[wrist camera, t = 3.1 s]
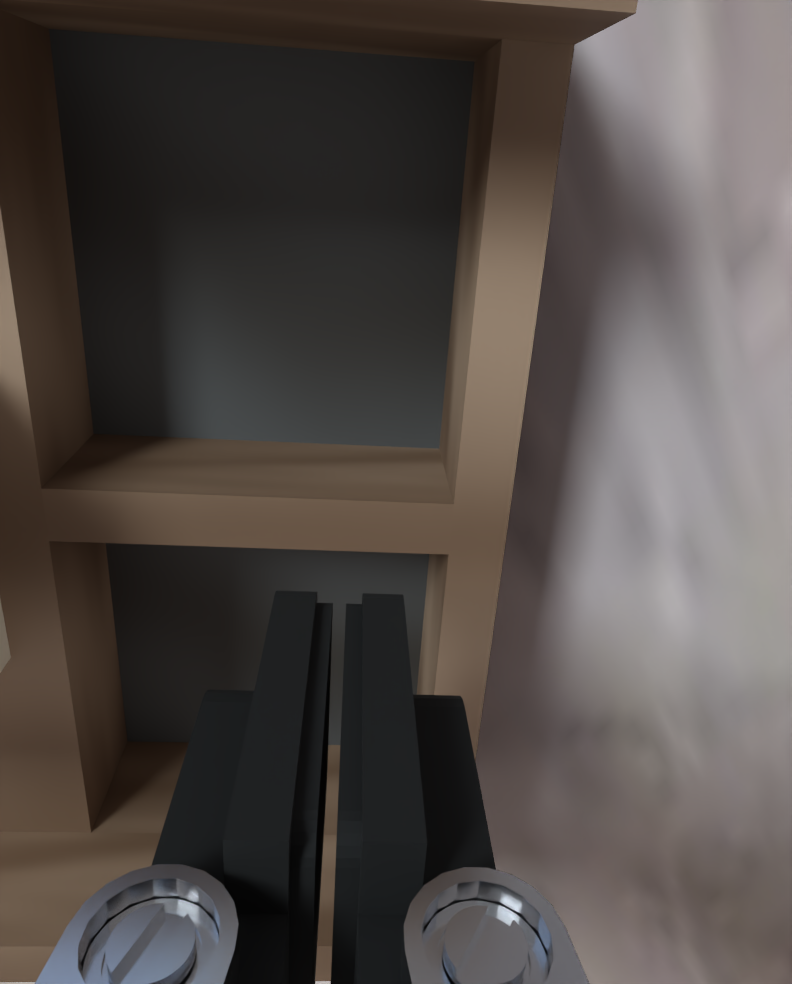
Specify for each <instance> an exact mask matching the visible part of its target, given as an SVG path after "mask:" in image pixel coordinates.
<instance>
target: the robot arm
mask: <svg viewBox="0 0 792 984" xmlns="http://www.w3.org/2000/svg"><path fill="white" fill-rule="evenodd" d="M317 600H318V599H317V592H312V591H281V590H276V591H275V595H274V600H273V604H272V609H271V614H270V619H269V623H268V628H267V633H266V637H265V642H264V647H263V652H262V656H261V661H260V666H259V671H258V675H257V680H256V685H255V690H254V691H247V690H207V691H206V692H205V694H204V697H203V699H202V702H201V705H200V709H199V712H198V715H197V718H196V722H195V725H194V728H193V731H192V735H191V738H190V741H189V744H188V748H187V751H186V754H185V757H184V761H183V764H182V767H181V770H180V774H179V777H178V780H177V784H176V787H175V790H174V793H173V797H172V800H171V803H170V806H169V810H168V813H167V816H166V819H165V823H164V826H163V829H162V832H161V836H160V839H159V842H158V845H157V849H156V852H155V855H154V859H153V862H152V865H151V866H149V867H145V868H141V869H137V870H133V871H131V872H129V873H127V874H125V875H123V876H121V877H119V878H117V879H115V880H113V881H111V882H109V883H107V884H106V885H105V886H103V887H102V888H101V889H100V890H99V891H97V892H96V893H95V894H94V895H92V896H91V897H90V898H89V899H88V900H86V901H85V902H84V904H83V905H82V906H81V908H80V909H79V910H78V912H77V913H76V914H75V916H74V917H73V918H72V920H71V921H70V922H69V924H68V925H67V927H66V929H65V931H64V933H63V934H62V936H61V938H60V940H59V941H58V943H57V945H56V947H55V949H54V950H53V952H52V954H51V956H50V957H49V959H48V961H47V963H46V965H45V966H44V968H43V970H42V972H41V974H40V975H39V977H38V979H37V981H36V982H35V984H315V974H316V957H317V941H318V924H319V907H320V891H321V874H322V857H323V840H324V824H325V807H326V790H327V770H328V741H329V711H330V680H331V650H332V619H333V603H317ZM331 984H589V981H588V979H587V977H586V974H585V972H584V970H583V967H582V965H581V963H580V960H579V958H578V956H577V953H576V951H575V949H574V946H573V944H572V942H571V939H570V937H569V935H568V932H567V930H566V928H565V926H564V924H563V922H562V921H561V919H560V917H559V916H558V914H557V912H556V911H555V909H554V907H553V906H552V904H550V903H549V902H548V901H547V900H546V899H545V898H544V897H543V896H542V895H541V894H540V893H539V892H538V891H537V890H536V889H535V888H534V887H533V886H531V885H529V884H527V883H526V882H524V881H522V880H520V879H519V878H517V877H515V876H513V875H512V874H508V873H505V872H501V871H498V870H496V868H495V863H494V857H493V852H492V847H491V842H490V836H489V831H488V826H487V821H486V815H485V810H484V805H483V800H482V794H481V789H480V784H479V779H478V773H477V768H476V763H475V758H474V752H473V747H472V742H471V737H470V731H469V726H468V721H467V716H466V710H465V706H464V702H463V699H462V697H461V696H455V695H413V688H412V678H411V667H410V657H409V647H408V636H407V626H406V615H405V605H404V596H403V594H375V593H363V594H362V604H346V618H345V643H344V667H343V692H342V716H341V741H340V765H339V790H338V815H337V840H336V865H335V889H334V914H333V939H332V964H331Z"/></svg>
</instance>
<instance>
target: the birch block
mask: <svg viewBox="0 0 792 984" xmlns="http://www.w3.org/2000/svg"><path fill="white" fill-rule="evenodd" d="M10 658H11V655H10V649H9V644H8V638H7V633H6V627H5V622H4V616H3V611H2V605H1V600H0V673H1V671H2V670H3V668H4V667H5V665H6V664H7V663H8V661H9V660H10Z"/></svg>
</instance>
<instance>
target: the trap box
mask: <svg viewBox="0 0 792 984" xmlns="http://www.w3.org/2000/svg"><path fill="white" fill-rule="evenodd" d="M637 2H638V0H0V600H1V605H2V611H3V616H4V622H5V627H6V633H7V638H8V644H9V649H10V655H11V658H10V660H9V661H8V663H7V664H6V665H5V667H4V668H3V670H2V671H1V673H0V982H36V981H37V979H38V977H39V975H40V974H41V972H42V970H43V968H44V966H45V965H46V963H47V961H48V959H49V957H50V956H51V954H52V952H53V950H54V949H55V947H56V945H57V943H58V941H59V940H60V938H61V936H62V934H63V933H64V931H65V929H66V927H67V925H68V924H69V922H70V921H71V920H72V918H73V917H74V916H75V914H76V913H77V912H78V910H79V909H80V908H81V906H82V905H83V904H84V902H85V901H86V900H88V899H89V898H90V897H91V896H92V895H94V894H95V893H96V892H97V891H99V890H100V889H101V888H102V887H103V886H105V885H106V884H107V883H109V882H111V881H113V880H115V879H117V878H119V877H121V876H123V875H125V874H127V873H129V872H131V871H133V870H137V869H141V868H145V867H149V866H151V865H152V862H153V859H154V855H155V852H156V849H157V845H158V842H159V839H160V836H161V832H162V829H163V826H164V823H165V819H166V816H167V813H168V810H169V806H170V803H171V800H172V797H173V793H174V790H175V787H176V784H177V780H178V777H179V774H180V770H181V767H182V764H183V761H184V757H185V754H186V751H187V748H188V744H189V741H190V738H191V735H192V731H193V728H194V725H195V722H196V718H197V715H198V712H199V709H200V705H201V702H202V699H203V697H204V694H205V692H206V691H207V690H247V691H254V690H255V685H256V680H257V675H258V671H259V666H260V661H261V656H262V652H263V647H264V642H265V637H266V633H267V628H268V623H269V619H270V614H271V609H272V604H273V600H274V595H275V591H276V590H281V591H312V592H317V599H318V600H317V603H333V619H332V650H331V680H330V711H329V741H328V770H327V790H326V807H325V824H324V840H323V857H322V874H321V891H320V907H319V924H318V941H317V957H316V974H315V981H331V964H332V939H333V914H334V889H335V865H336V840H337V815H338V790H339V765H340V741H341V716H342V692H343V667H344V643H345V618H346V604H362V594H363V593H375V594H403V596H404V605H405V615H406V626H407V636H408V647H409V657H410V667H411V678H412V688H413V695H455V696H461V697H462V699H463V702H464V706H465V710H466V716H467V721H468V726H469V731H470V737H471V742H472V747H473V752H474V758H475V760H476V753H477V745H478V738H479V731H480V724H481V716H482V709H483V702H484V695H485V688H486V680H487V673H488V666H489V659H490V651H491V644H492V637H493V630H494V622H495V615H496V608H497V601H498V593H499V586H500V579H501V572H502V565H503V557H504V550H505V543H506V536H507V528H508V521H509V514H510V507H511V499H512V492H513V485H514V478H515V470H516V463H517V456H518V449H519V442H520V434H521V427H522V420H523V413H524V405H525V398H526V391H527V384H528V376H529V369H530V362H531V355H532V347H533V340H534V333H535V326H536V319H537V311H538V304H539V297H540V290H541V282H542V275H543V268H544V261H545V253H546V246H547V239H548V232H549V225H550V217H551V210H552V203H553V196H554V188H555V181H556V174H557V167H558V159H559V152H560V145H561V138H562V130H563V123H564V116H565V109H566V102H567V94H568V87H569V80H570V73H571V65H572V58H573V51H574V45H575V44H577V43H579V42H581V41H582V40H584V39H586V38H588V37H590V36H592V35H594V34H596V33H598V32H600V31H602V30H604V29H606V28H608V27H610V26H612V25H613V24H615V23H617V22H619V21H621V20H623V19H625V18H627V17H629V16H631V15H633V14H635V13H636V8H637Z"/></svg>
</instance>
